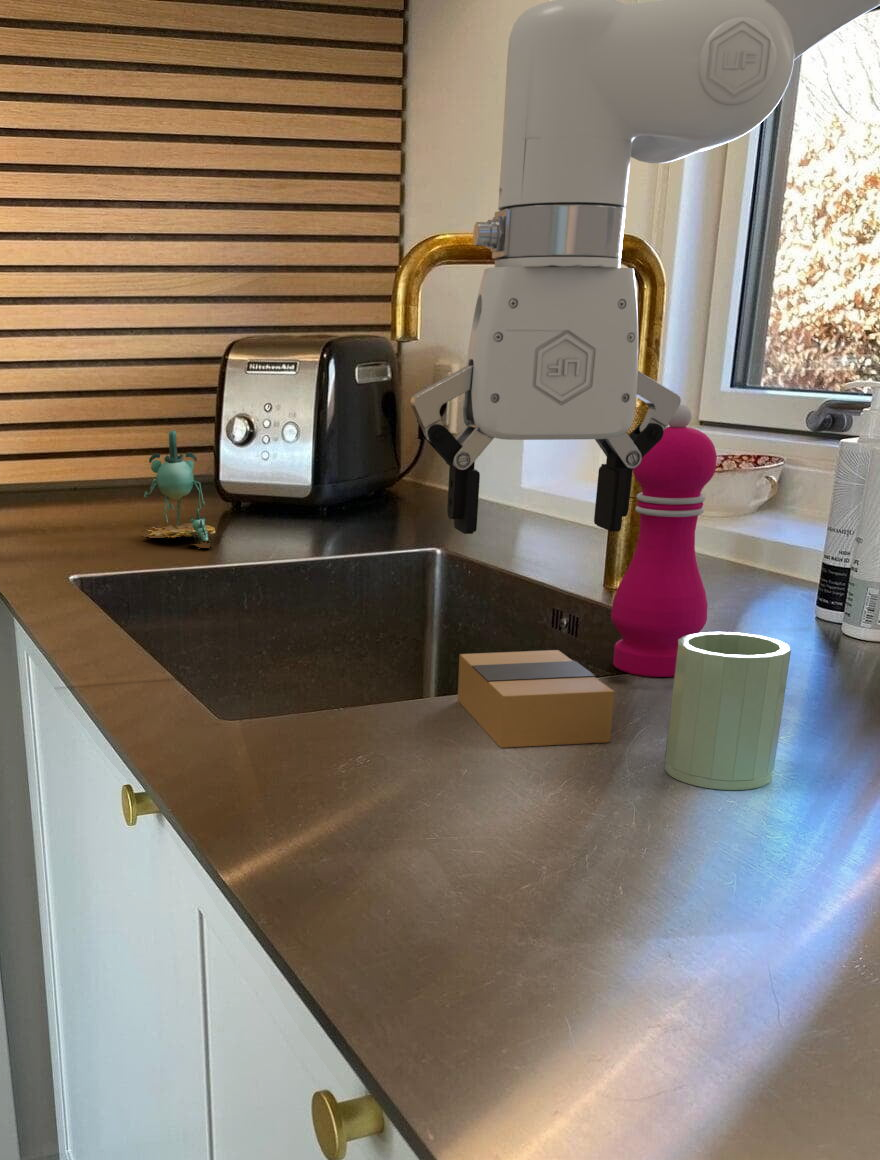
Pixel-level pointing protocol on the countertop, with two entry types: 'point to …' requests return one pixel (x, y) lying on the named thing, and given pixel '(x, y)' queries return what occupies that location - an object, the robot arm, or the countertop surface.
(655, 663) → the pepper mill
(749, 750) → the cup
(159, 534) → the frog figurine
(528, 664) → the packet
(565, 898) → the countertop surface
